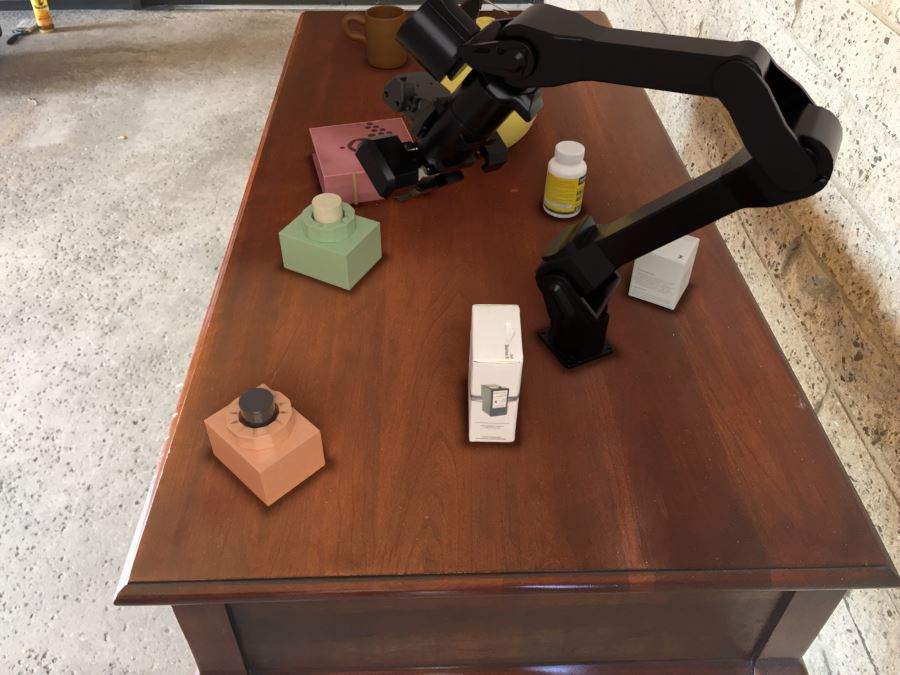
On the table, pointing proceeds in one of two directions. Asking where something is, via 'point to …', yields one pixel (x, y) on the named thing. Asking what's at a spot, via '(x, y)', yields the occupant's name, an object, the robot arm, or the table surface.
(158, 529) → the table surface
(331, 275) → the green push button box
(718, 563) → the table surface
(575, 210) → the supplement bottle
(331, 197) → the beige push button
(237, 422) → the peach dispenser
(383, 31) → the mug
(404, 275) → the table surface
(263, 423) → the dark grey push button
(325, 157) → the book
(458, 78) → the vase
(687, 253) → the white cardboard box
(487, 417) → the ink box
